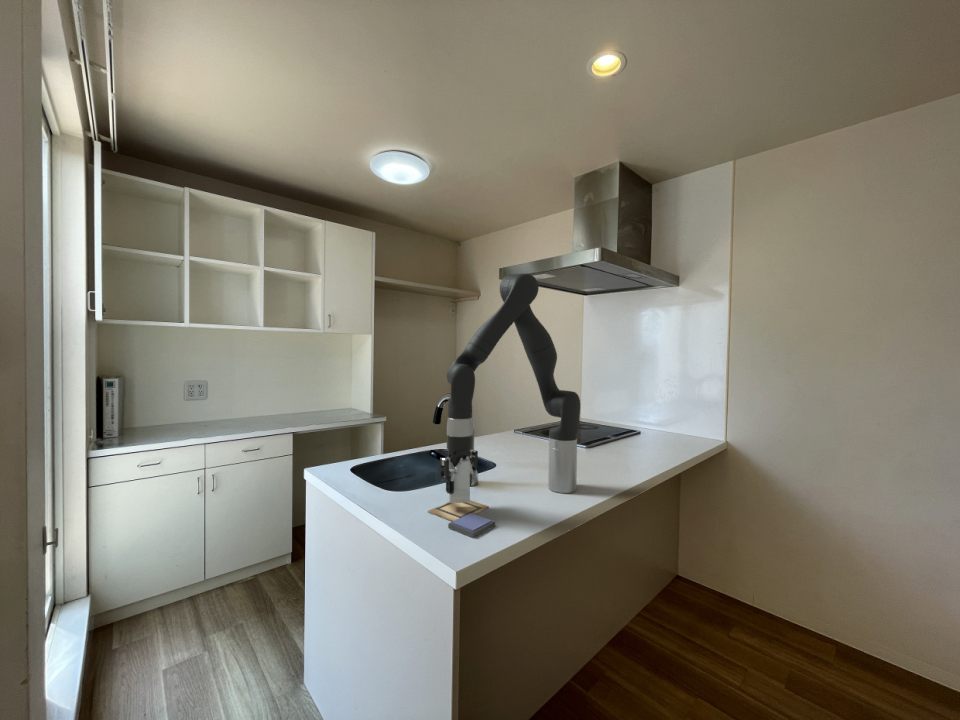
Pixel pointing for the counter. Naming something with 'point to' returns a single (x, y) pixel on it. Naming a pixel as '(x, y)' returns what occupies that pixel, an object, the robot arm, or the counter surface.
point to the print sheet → (457, 510)
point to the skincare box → (461, 483)
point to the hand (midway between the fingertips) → (459, 489)
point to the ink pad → (471, 525)
